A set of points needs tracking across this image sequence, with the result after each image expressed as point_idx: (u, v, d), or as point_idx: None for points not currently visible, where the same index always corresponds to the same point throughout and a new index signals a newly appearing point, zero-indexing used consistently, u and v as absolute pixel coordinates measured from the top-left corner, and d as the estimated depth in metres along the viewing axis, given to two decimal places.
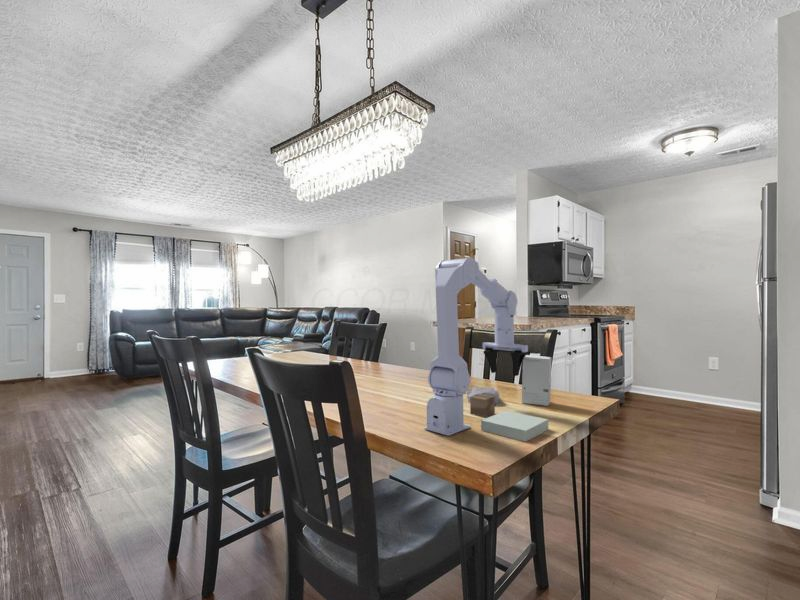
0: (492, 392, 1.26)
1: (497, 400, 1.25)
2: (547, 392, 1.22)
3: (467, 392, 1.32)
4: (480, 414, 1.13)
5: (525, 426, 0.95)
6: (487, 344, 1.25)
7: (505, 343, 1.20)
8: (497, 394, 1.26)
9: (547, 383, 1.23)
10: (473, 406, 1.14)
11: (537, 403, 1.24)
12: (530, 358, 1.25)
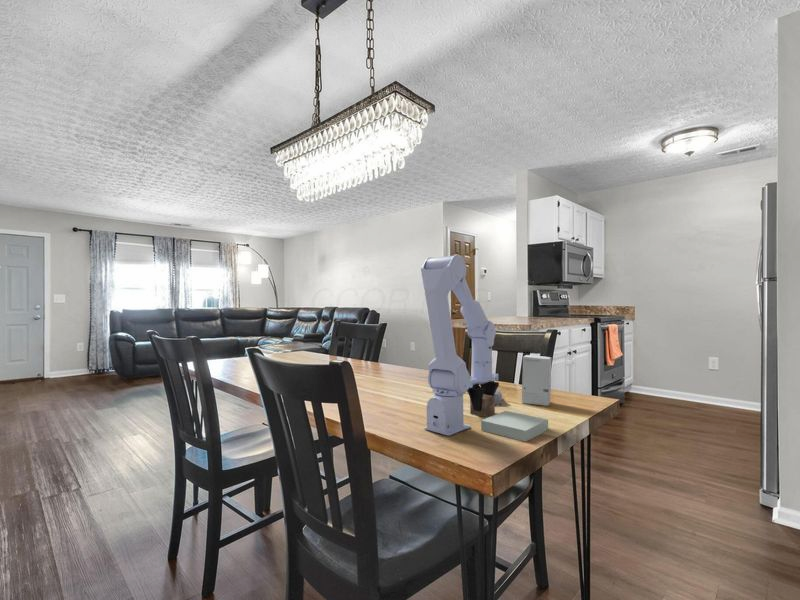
0: (495, 392, 1.26)
1: (500, 400, 1.25)
2: (547, 392, 1.22)
3: None
4: (480, 414, 1.13)
5: (525, 426, 0.95)
6: None
7: (472, 375, 1.16)
8: (500, 394, 1.25)
9: (547, 383, 1.23)
10: None
11: (537, 403, 1.24)
12: (530, 358, 1.25)
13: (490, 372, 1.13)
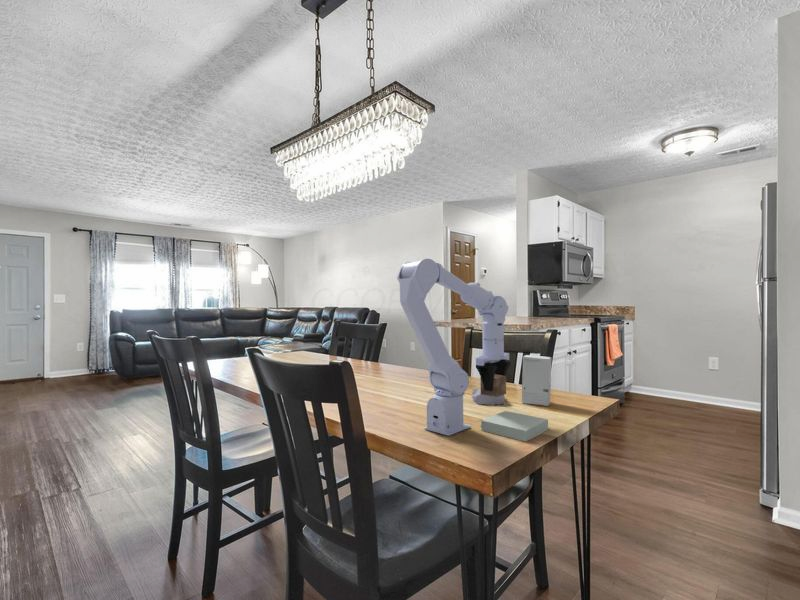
0: None
1: (502, 400, 1.25)
2: (547, 392, 1.22)
3: (472, 392, 1.32)
4: (491, 394, 1.07)
5: (525, 426, 0.95)
6: None
7: None
8: None
9: (547, 383, 1.23)
10: None
11: (537, 403, 1.24)
12: (530, 358, 1.25)
13: (502, 350, 1.08)
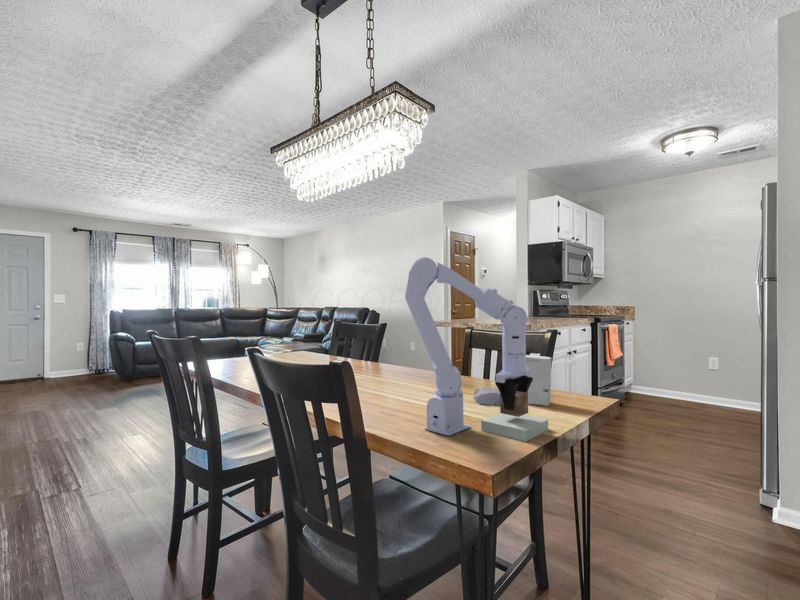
0: (499, 392, 1.26)
1: None
2: (547, 392, 1.22)
3: (474, 392, 1.32)
4: (512, 413, 0.98)
5: (525, 426, 0.95)
6: None
7: None
8: None
9: (547, 383, 1.23)
10: None
11: (537, 403, 1.24)
12: (530, 358, 1.25)
13: (524, 365, 0.98)
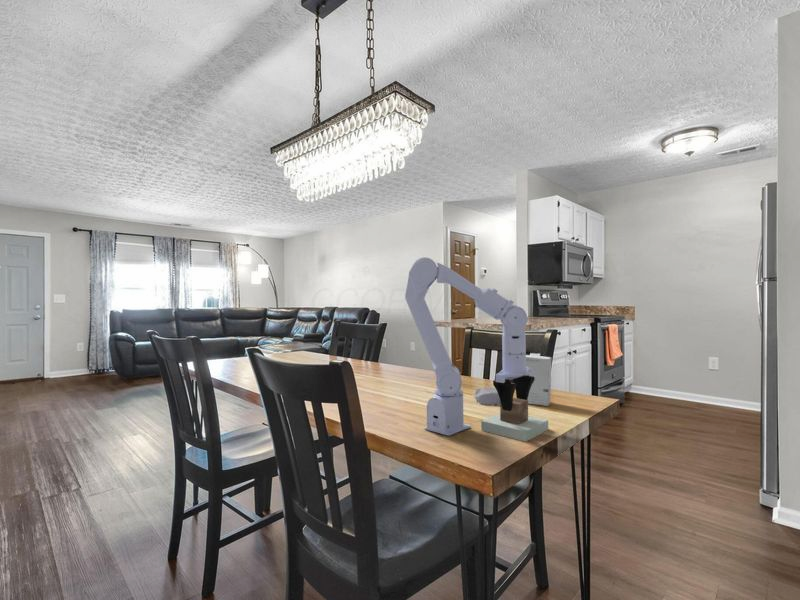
0: None
1: None
2: (547, 392, 1.22)
3: (475, 392, 1.32)
4: (512, 421, 0.98)
5: (525, 427, 0.95)
6: None
7: None
8: None
9: (547, 383, 1.23)
10: (504, 411, 1.00)
11: (537, 403, 1.24)
12: (530, 358, 1.25)
13: (524, 365, 0.98)
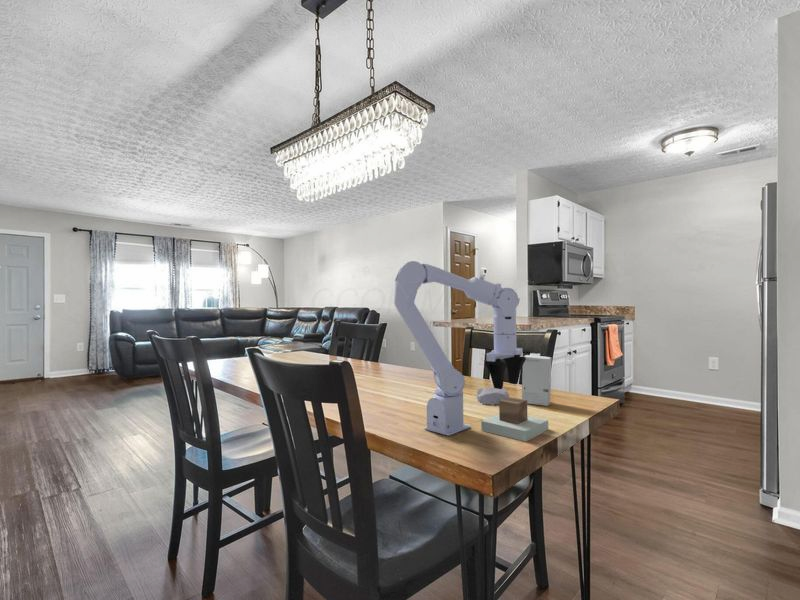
0: (502, 392, 1.25)
1: None
2: (547, 392, 1.22)
3: (477, 392, 1.32)
4: (511, 420, 0.98)
5: (525, 426, 0.95)
6: None
7: (494, 349, 1.04)
8: (507, 394, 1.25)
9: (547, 383, 1.23)
10: (503, 411, 1.00)
11: (537, 403, 1.24)
12: (530, 358, 1.25)
13: (514, 345, 1.02)
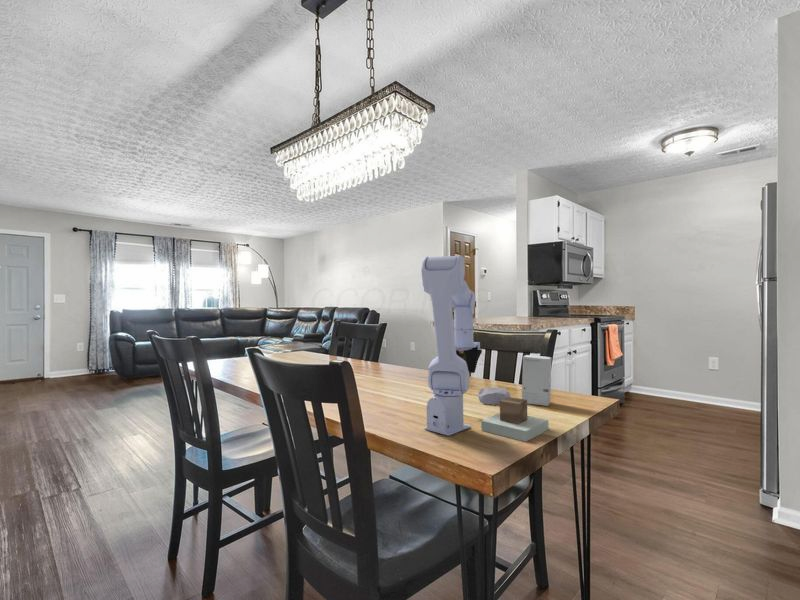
0: (503, 392, 1.25)
1: None
2: (547, 392, 1.22)
3: (479, 392, 1.32)
4: (512, 421, 0.98)
5: (525, 426, 0.95)
6: None
7: None
8: (508, 394, 1.25)
9: (547, 383, 1.23)
10: (504, 411, 1.00)
11: (537, 403, 1.24)
12: (530, 358, 1.25)
13: (471, 339, 1.19)
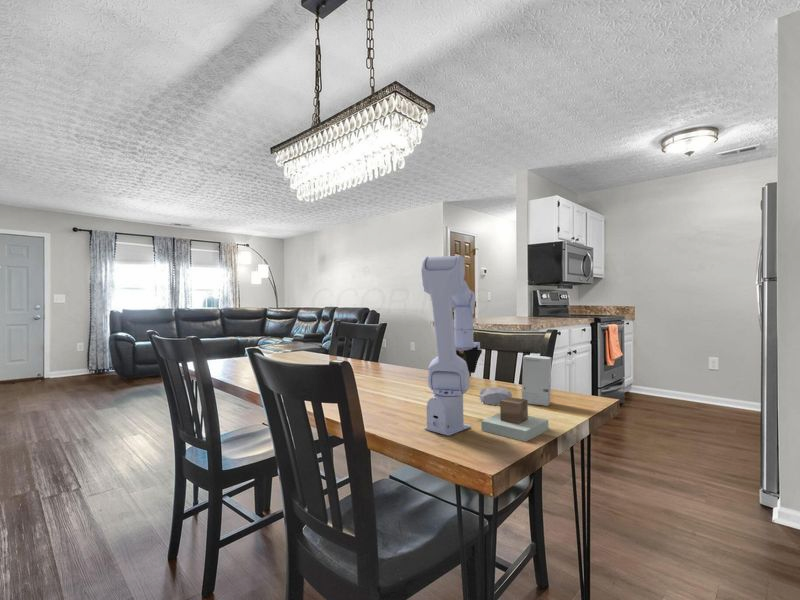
0: (504, 392, 1.25)
1: None
2: (547, 392, 1.22)
3: (480, 392, 1.32)
4: (513, 420, 0.98)
5: (525, 426, 0.95)
6: None
7: None
8: (510, 394, 1.25)
9: (547, 383, 1.23)
10: (504, 411, 1.00)
11: (537, 403, 1.24)
12: (530, 358, 1.25)
13: (471, 339, 1.19)
